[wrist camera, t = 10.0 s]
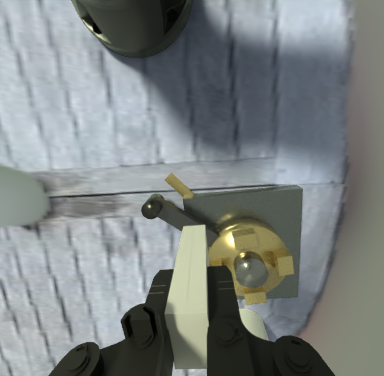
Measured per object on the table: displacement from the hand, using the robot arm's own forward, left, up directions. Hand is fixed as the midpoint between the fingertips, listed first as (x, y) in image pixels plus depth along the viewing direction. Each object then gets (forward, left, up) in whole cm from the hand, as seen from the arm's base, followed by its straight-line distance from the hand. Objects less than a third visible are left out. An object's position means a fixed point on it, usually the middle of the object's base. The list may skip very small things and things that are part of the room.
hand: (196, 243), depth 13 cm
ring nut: (+9, +1, -16) cm, 18 cm away
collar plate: (+10, +5, -18) cm, 21 cm away
